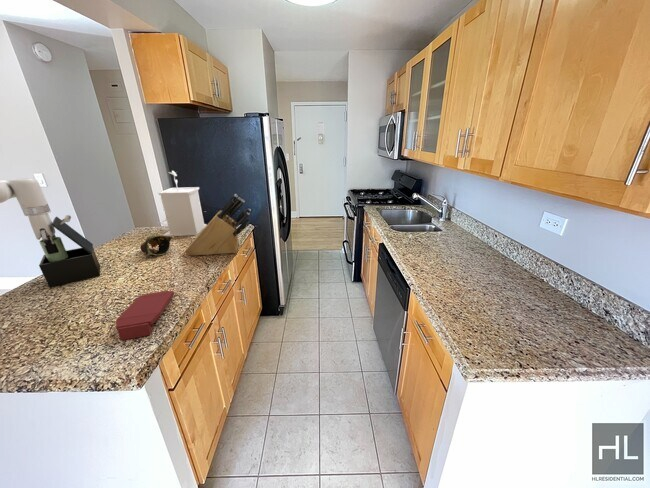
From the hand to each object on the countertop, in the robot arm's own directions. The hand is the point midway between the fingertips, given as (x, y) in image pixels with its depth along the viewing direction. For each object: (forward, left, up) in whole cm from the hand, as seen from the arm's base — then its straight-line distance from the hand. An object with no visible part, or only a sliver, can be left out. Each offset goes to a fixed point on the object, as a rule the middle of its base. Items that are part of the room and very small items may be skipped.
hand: (54, 250), depth 112 cm
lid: (+7, +2, +5) cm, 9 cm away
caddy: (+3, +1, -14) cm, 14 cm away
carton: (+40, -44, -14) cm, 61 cm away
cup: (0, 0, -4) cm, 4 cm away
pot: (+33, +17, -14) cm, 40 cm away
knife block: (+66, +7, -14) cm, 68 cm away
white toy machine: (+44, +56, -14) cm, 72 cm away
